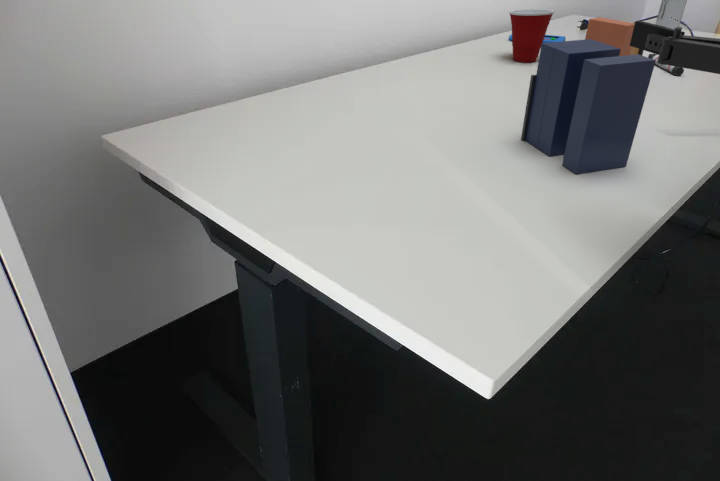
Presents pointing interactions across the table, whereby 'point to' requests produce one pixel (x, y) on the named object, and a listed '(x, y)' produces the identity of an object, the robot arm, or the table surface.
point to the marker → (667, 66)
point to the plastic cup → (528, 32)
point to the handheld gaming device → (548, 38)
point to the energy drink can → (670, 13)
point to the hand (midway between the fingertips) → (682, 28)
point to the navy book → (607, 112)
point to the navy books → (557, 92)
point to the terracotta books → (613, 34)
